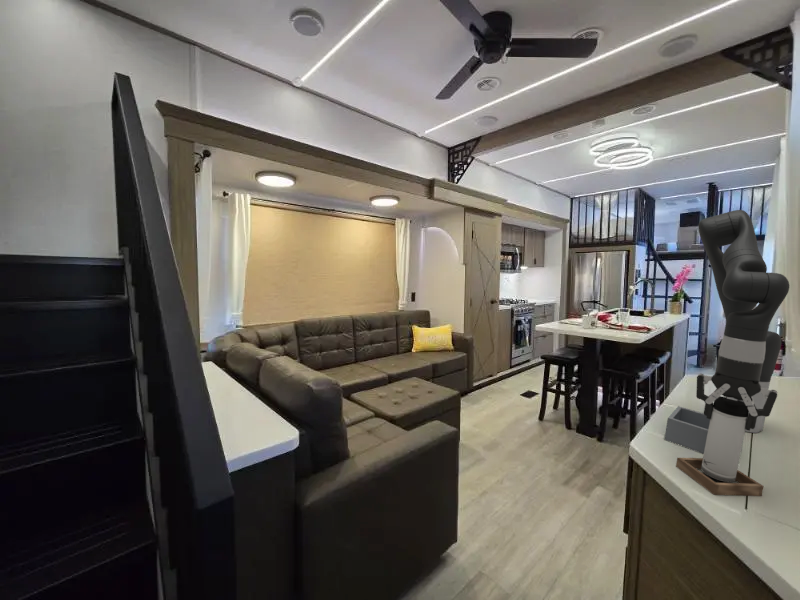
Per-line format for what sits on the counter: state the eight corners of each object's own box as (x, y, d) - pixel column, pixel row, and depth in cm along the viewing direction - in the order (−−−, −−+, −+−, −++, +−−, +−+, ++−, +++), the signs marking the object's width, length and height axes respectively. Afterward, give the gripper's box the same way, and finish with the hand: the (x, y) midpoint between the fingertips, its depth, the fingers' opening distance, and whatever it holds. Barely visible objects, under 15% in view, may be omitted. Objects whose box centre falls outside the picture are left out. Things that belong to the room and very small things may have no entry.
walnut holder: (718, 467, 90) (719, 458, 90) (761, 495, 80) (763, 486, 79) (675, 466, 90) (677, 457, 89) (713, 494, 79) (715, 484, 79)
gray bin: (674, 426, 112) (678, 405, 111) (733, 445, 102) (737, 423, 101) (664, 439, 103) (667, 417, 102) (727, 462, 93) (732, 438, 92)
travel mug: (699, 474, 84) (714, 397, 82) (702, 463, 89) (715, 390, 86) (734, 487, 80) (751, 406, 77) (735, 475, 85) (750, 399, 82)
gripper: (786, 362, 78) (771, 430, 80) (702, 347, 88) (691, 408, 90) (786, 368, 73) (770, 441, 75) (698, 351, 83) (686, 416, 85)
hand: (727, 423), depth 83 cm, fingers closed on travel mug, 6 cm apart
